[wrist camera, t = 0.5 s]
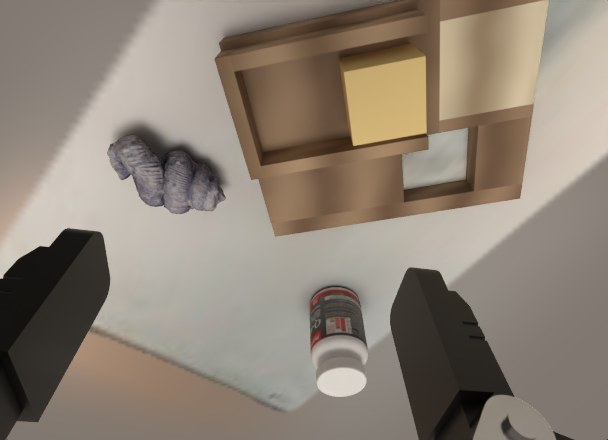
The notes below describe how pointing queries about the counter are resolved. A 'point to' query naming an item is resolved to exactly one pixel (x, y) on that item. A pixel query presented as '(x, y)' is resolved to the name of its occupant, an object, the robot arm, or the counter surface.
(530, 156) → the counter surface
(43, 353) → the robot arm
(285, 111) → the wooden compartment tray
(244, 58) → the cubby
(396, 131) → the block
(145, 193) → the seashell
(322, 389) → the pill bottle
